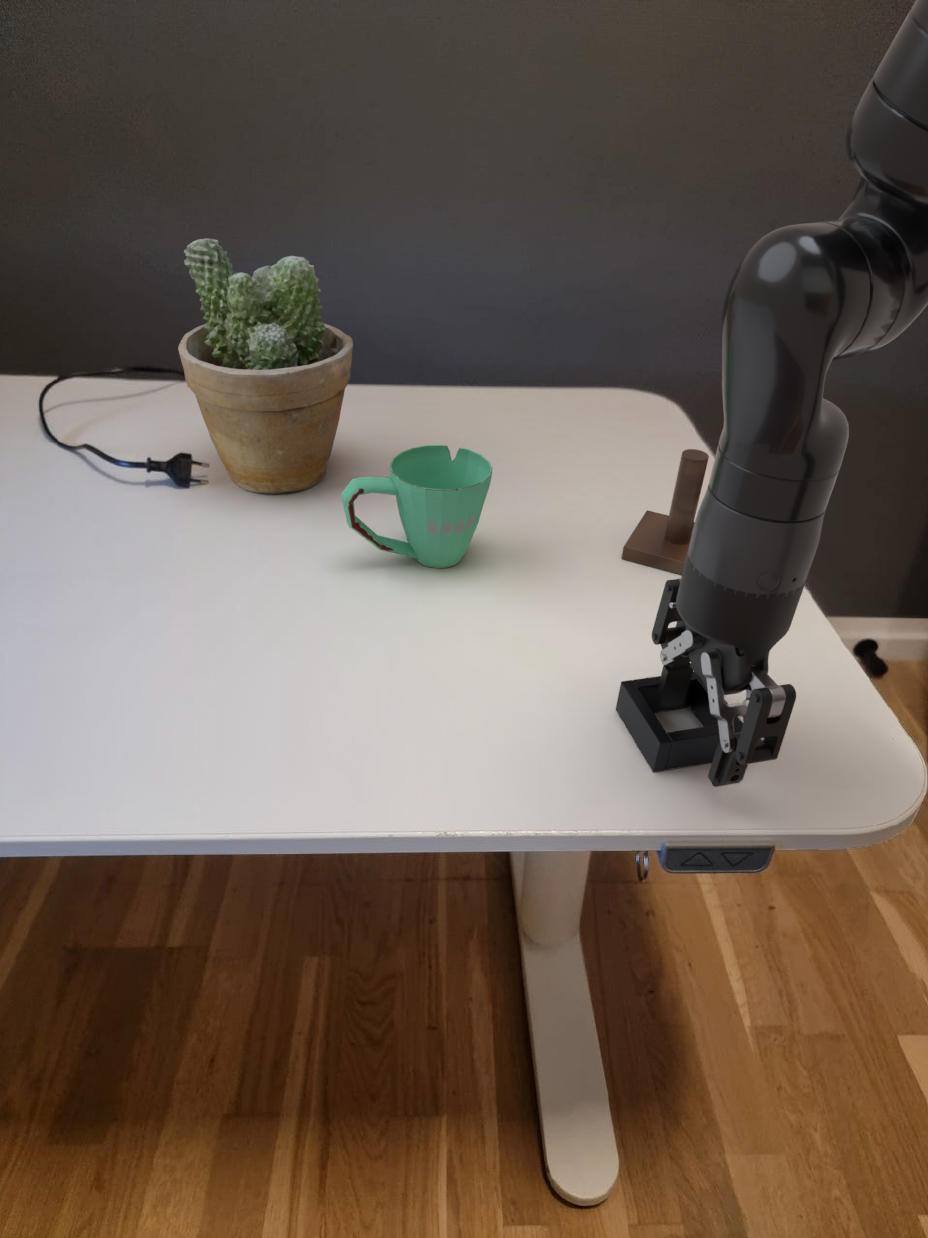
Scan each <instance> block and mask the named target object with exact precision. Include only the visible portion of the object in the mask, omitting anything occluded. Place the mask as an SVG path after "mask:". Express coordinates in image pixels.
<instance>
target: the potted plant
mask: <svg viewBox="0 0 928 1238" xmlns="http://www.w3.org/2000/svg"><path fill="white" fill-rule="evenodd" d="M183 253H184V254H185V256H186V258H185V259H184V261H183V264H184V266H186V267H187V268H189V270H188V271H189V272H188V274H189V276H190V278H191V279H192V280H193V282H194V283H195V288H196V289H195V290H194V291H195V293H197V294H198V295H199V301H200V302H201V307H200V311H202V312H203V313H204V316H203V317H202V320H204V321H205V324H201V325H199V326H197V327H195V328H193V329H192V330H190V331H188V332H187V333H185V334H184V335H183V337H182V338H181V340H180V342H179V343H178V347H177V349H178V354H179V358H180V361H181V365H182V368H183V372H184V378H185V383H186V386H187V388H189V389H190V390H191V391H192V393H193V394H194V396H195V398H196V401H197V404H198V407H199V411H200V412H201V415H202V419H203V421H204V424H205V426H206V429H207V431H208V434H209V437H210V440H211V441H212V444H213V446H214V449H215V450H216V453H217V456H218V457H219V459H220V461H221V463H222V465H223V466H224V468H225V471H226V473H227V475H228V477H229V478H230V480H231V481H232V482H234V484H235V485H236V486H238V487H239V488H241V489H242V490H244V491H247V492H250V493H256V494H257V493H259V494H273V495H279V494H287V493H297V492H301V491H304V490H308V489H310V488H313V487H314V486H316V485H317V484H319V483H321V482H322V481H323V479H324V478H325V475H326V474H327V470H328V464H329V461H330V458H331V456H332V455H331V454H332V451H333V447H334V442H335V438H336V434H337V431H338V427H339V422H340V417H341V411H342V406H343V403H344V397H345V391H346V388H347V386H348V383H349V382H350V379H351V369H352V362H353V348H354V342H353V339H352V337H351V336H350V335H348V334H346V333H344V332H343V331H342V330H341V329H339V328H337V327H335V326H332V325H330V324H327V323H324V322H323V319H322V316H320V311H321V310H322V308H323V306H322V305H320V304H321V303H320V302H321V298H319V297H318V295H319V294H320V293H321V292H322V291H321V289H320V288H319V285H318V283H319V281H320V278H318V277H317V276H316V272H315V265H314V264H310V261H309V260H308V259H307V258H305V256H304V257H303V256H295V255H289V256H284V257H282V258H280V259H279V260H278V261H277V262H276V263H275V264H273V265H265V266H262V267H259V268H257V269H256V270H254V271H253V274H252V276H251V275H250V274H248V273H246V272H242V271H241V272H235V271H234V270H233V264H232V263H231V261H230V258H229V257H228V256H227V254H228V251H227V250H224V249H223V247H222V246H221V245H219V240H218V239H214V238H200V239H196V240H194V241H192V242H191V243H189V244H188V245H187V246H186V248H185V249H184V250H183Z"/></svg>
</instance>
